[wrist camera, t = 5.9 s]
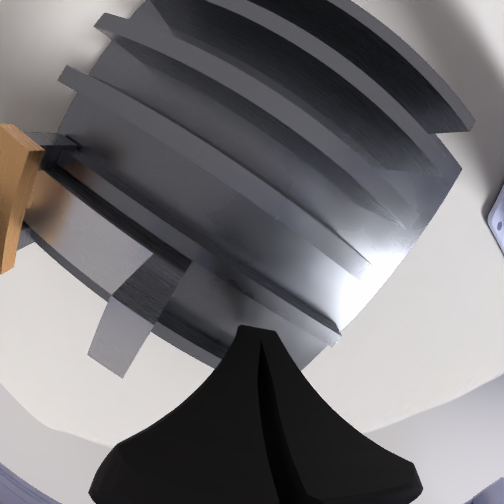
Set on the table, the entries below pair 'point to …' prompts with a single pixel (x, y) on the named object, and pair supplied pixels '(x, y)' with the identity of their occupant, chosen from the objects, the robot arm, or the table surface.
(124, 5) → the table surface
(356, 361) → the table surface
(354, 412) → the table surface
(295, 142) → the heatsink
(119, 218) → the clip
